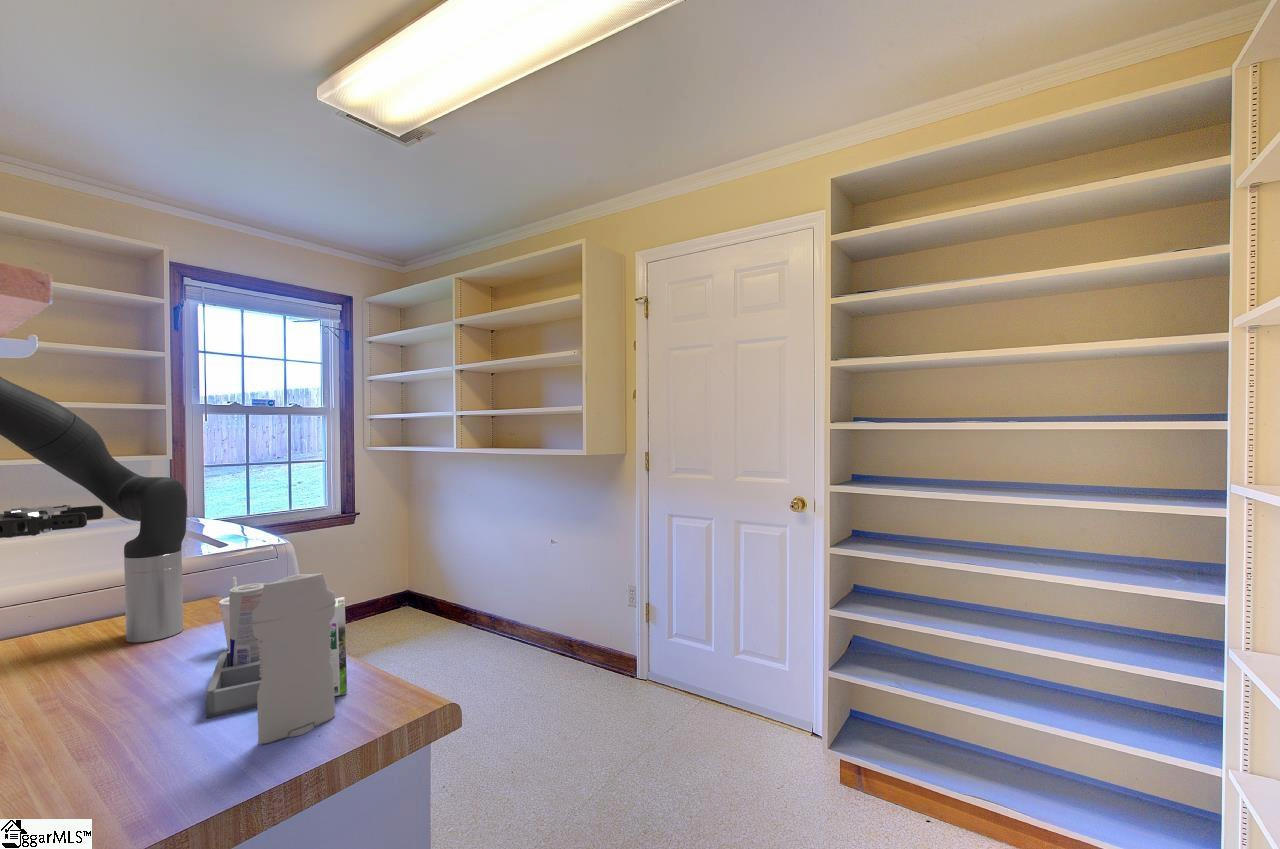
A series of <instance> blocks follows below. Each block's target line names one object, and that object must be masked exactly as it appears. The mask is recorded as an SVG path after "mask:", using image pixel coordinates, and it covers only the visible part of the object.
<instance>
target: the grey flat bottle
mask: <svg viewBox="0 0 1280 849" xmlns="http://www.w3.org/2000/svg"><path fill="white" fill-rule="evenodd" d="M325 576H326V575H325V573H323V572H322V573H321V572H320V573H313V574H312V573H309V574H307V573H306V574H305V573H301V574H299V573H298V574H294V575H290V576H289V575H288V576H286V577H284V578H281V579H279V580H276V581H273V582H269V583H266V584H265V585H264V588H263V593H262V597H261V601H260V604H259V605H258V606H257V607H256V608H255V609H254V610H253V611H252V629H253V635H254V636H255V637H256V638H258V639H259V640H260V641H259V642H258V643H257V645H258V647H259V649H258V651H260V652H259V654H260V656H259V658H260V660H259V661H260V663H259V664H261V665H260V667H261V668H260V669H259V670H260V673H261V674H260V675H259V676H260V677H261V682H260V686H259V689H258V692H257V704H258V707H257V735H258V736H257V737H258V739H257V740H258V741H257V743H258V745H259V746H264V745H265V746H266V745H270V744H273V743H276V742H279V741H282V740H285V739H288V738H292V737H298V736H302V735H304V734H306V733H309V732H310V731H312V730H313V729H314V728H317V727H320V726H322V725H323V724H325V723H328V722H330V721H331V720H333V719H334V718H335V717H336V716H335V714H336V712H335V711H336V710H335V707H336V706H335V696H334V668H333V665H332V663H331V660H330V656H331V654H330V653H331V651H330V650H331V648H330V647H331V645H330V644H331V643H330V642H331V640H330V639H331V637H330V635H331V633H330V632H331V630H330V629H331V628H332V624H330V621H331V620H332V618H333V617H334V615H335V599H336V592H335V591H333V590H331V589H329V587H328V583H327V581H326V577H325Z"/></svg>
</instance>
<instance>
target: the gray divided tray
mask: <svg viewBox="0 0 1280 849" xmlns="http://www.w3.org/2000/svg"><path fill="white" fill-rule="evenodd" d="M259 663H260V661H258V662H253V663H247V664H242V665H237V666H232V667H231V660H230V651H228V650H227V651H223V652H222V651H221V652H220V654H219V657H218V659H217V662H216V665H215V667H214V671H213V673H212V676H211V679H210V681H209V685H208V687H207V690H206V693H205V701H206V702H205V710H206V711H205V712H206V714H205V715H206V716H205V718H206V719H210V718H213V717H219V716H223V715H228V714H231V713H235V712H236V713H237V712H240V711H245V710H249V709H254V708H258V704H257V692H258V689H259V686H260V682H261V677H260V676H259V675H260V674H261V673H260V670H259V669H260V668H261V667H260V665H261V664H259Z"/></svg>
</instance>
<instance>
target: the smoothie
mask: <svg viewBox="0 0 1280 849" xmlns="http://www.w3.org/2000/svg"><path fill="white" fill-rule="evenodd" d="M237 584H238V582H237V576H233V577H232V588H234V587H237ZM218 609H220V612H221V617H222V623H223V630H224V635H225V639H226V646H227V651H228V650H229V651H230V608H229V596H228V597H225V598H223V599H221V600H219V602H218Z"/></svg>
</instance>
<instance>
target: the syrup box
mask: <svg viewBox="0 0 1280 849" xmlns="http://www.w3.org/2000/svg"><path fill="white" fill-rule="evenodd" d="M345 602H346V601H345V596H342V597H338V598H336V597H335V615H334V617H333V618H332V620H331V621H330V624H332V628H331V629H330V630H331V632H330V633H331V635H330V637H331V639H330V640H331V642H330V643H331V644H330V645H331V647H330V648H331V650H330V651H331V653H330V654H331V656H330V660H331V663H332V665H333V668H334V697H338V696H339V697H340V696H343V695H346V694H347V693H348V680H347V679H348V674H347V673H348V671H347V670H348V669H347V665H348V664H347V635H346V632H347V631H346V604H345Z"/></svg>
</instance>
